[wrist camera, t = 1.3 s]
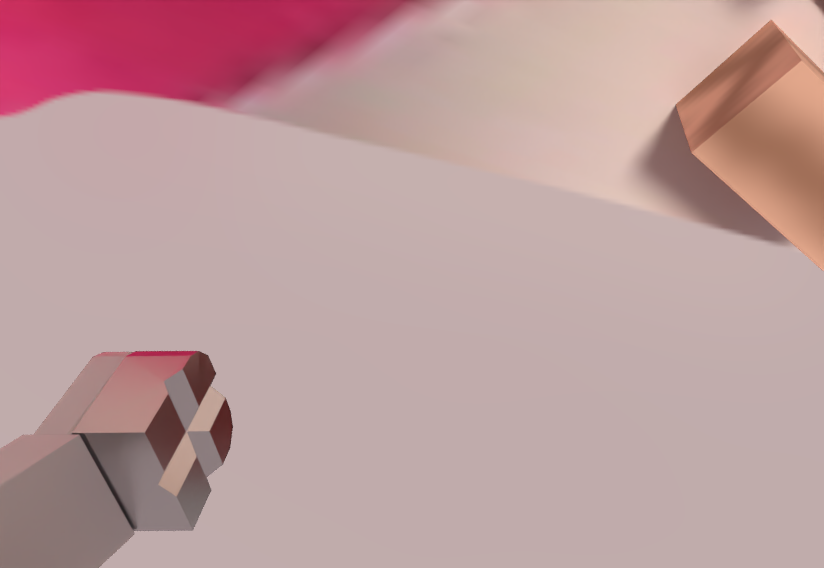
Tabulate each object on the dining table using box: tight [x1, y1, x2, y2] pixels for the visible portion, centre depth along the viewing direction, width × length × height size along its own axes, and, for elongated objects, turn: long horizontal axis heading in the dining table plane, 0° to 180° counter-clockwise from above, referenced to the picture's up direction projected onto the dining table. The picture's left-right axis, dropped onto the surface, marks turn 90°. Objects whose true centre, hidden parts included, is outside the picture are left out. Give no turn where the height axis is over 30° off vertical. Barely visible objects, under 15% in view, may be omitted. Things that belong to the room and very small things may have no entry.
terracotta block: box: [676, 20, 824, 270], centre depth 38 cm, size 6×10×6 cm, turn 53°
